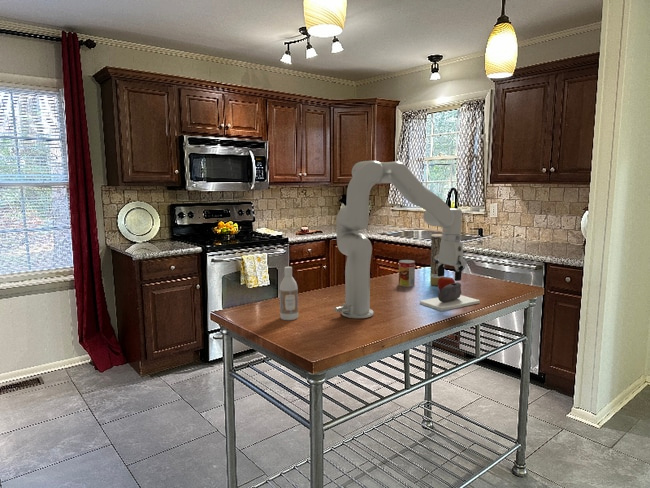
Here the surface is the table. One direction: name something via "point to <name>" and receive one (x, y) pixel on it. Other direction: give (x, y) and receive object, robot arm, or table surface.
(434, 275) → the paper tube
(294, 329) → the table surface
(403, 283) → the canned food
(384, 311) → the table surface
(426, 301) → the cream board
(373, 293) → the table surface
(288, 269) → the bath foam
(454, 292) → the perforated stone tool
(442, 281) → the apple
